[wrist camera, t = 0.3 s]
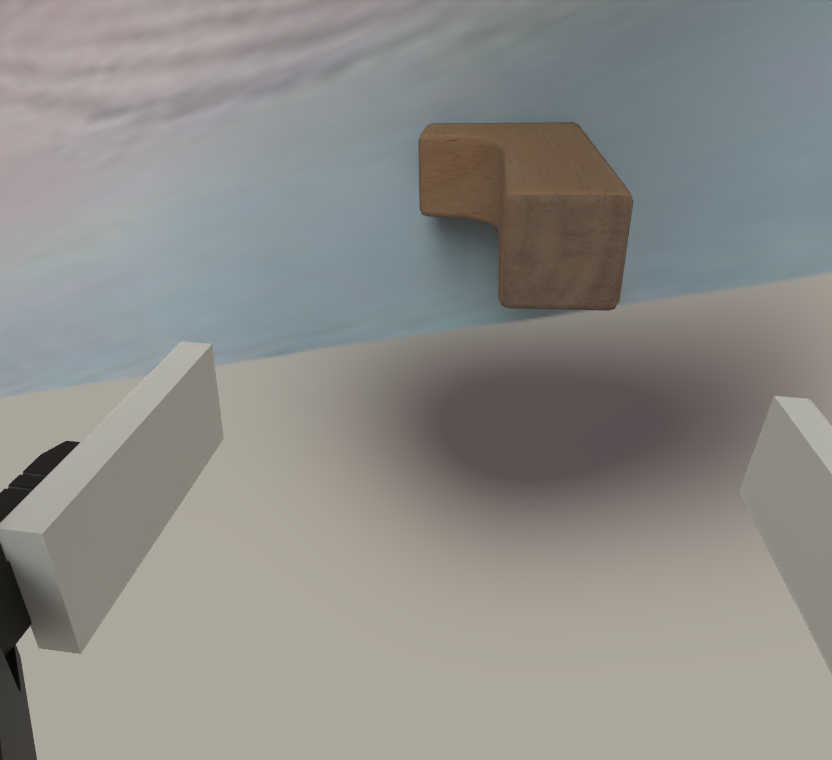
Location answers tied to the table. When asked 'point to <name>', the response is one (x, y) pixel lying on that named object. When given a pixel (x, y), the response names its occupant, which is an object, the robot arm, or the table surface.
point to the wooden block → (534, 207)
